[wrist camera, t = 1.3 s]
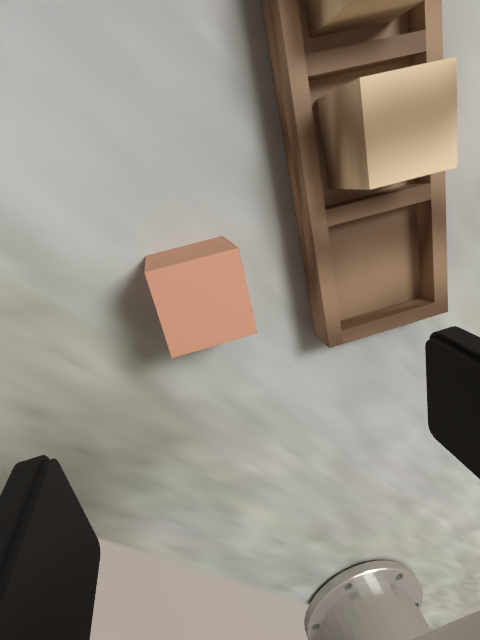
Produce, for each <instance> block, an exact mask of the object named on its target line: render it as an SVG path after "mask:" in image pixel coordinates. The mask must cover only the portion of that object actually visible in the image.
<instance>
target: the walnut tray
mask: <svg viewBox="0 0 480 640" xmlns="http://www.w3.org/2000/svg"><path fill="white" fill-rule="evenodd" d="M261 2H262V8H263V14H264V20H265V26H266V33H267V39H268V45H269V51H270V57H271V64H272V70H273V76H274V82H275V88H276V95H277V101H278V107H279V113H280V119H281V126H282V132H283V138H284V144H285V150H286V157H287V163H288V169H289V175H290V181H291V188H292V194H293V200H294V206H295V212H296V219H297V225H298V231H299V237H300V243H301V250H302V256H303V262H304V268H305V274H306V281H307V287H308V293H309V299H310V306H311V312H312V318H313V324H314V330H315V335H316V336H317V337H318V338H319V339H320V340H322V341H323V342H324V343H325V344H326V345H327V346H328V347H329V348H331V347H334V346H337V345H341V344H344V343H347V342H350V341H354V340H357V339H360V338H363V337H367V336H370V335H373V334H376V333H380V332H383V331H386V330H390V329H393V328H396V327H399V326H403V325H406V324H409V323H412V322H416V321H419V320H422V319H425V318H429V317H432V316H435V315H438V314H442V313H445V312H448V294H447V244H446V194H445V170H449V169H453V168H457V56H456V57H452V58H447V59H443V44H442V0H261Z"/></svg>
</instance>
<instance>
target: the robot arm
mask: <svg viewBox="0 0 480 640" xmlns="http://www.w3.org/2000/svg"><path fill="white" fill-rule="evenodd" d="M425 350H426V377H427V405H428V426H429V429H430V432H431V434H432V435H433V436H434V438H435V439H436V440H437V441H439V442H440V443H441V444H442V445H443V446H444V447H445V448H446V449H447V450H448V451H450V452H451V453H452V454H453V455H454V456H455V457H456V458H457V459H458V460H459V461H461V462H462V463H463V464H464V465H465V466H466V467H467V468H468V469H469V470H470V471H472V472H473V473H474V474H475V475H476V476H477V477H478V478H479V479H480V337H478V336H476V335H474V334H472V333H469V332H467V331H465V330H463V329H461V328H459V327H456V326H454V327H450V328H446V329H443V330H440V331H437V332H434V333H432V334H431V336H430V339H429V340H428V341H427V342H426V346H425ZM99 561H100V546H99V541H98V539H97V537H96V535H95V533H94V531H93V529H92V527H91V525H90V523H89V521H88V519H87V517H86V515H85V513H84V511H83V509H82V507H81V505H80V503H79V501H78V499H77V497H76V495H75V493H74V491H73V489H72V487H71V486H70V484H69V482H68V480H67V478H66V476H65V474H64V472H63V470H62V468H61V466H60V464H59V462H58V461H57V460H56V459H50V460H49V458H48V457H47V456H45V455H42V456H38V457H35V458H32V459H29V460H26V461H22V462H19V463H17V464H16V465H15V466H14V468H13V470H12V472H11V474H10V476H9V479H8V481H7V483H6V485H5V487H4V489H3V491H2V493H1V496H0V640H89V638H90V632H91V624H92V616H93V608H94V600H95V593H96V585H97V577H98V569H99ZM422 596H423V592H422V587H421V584H420V582H419V581H418V579H417V578H416V576H415V575H414V573H413V572H412V571H411V569H409V568H408V567H407V566H405V565H403V564H401V563H398V562H394V561H388V560H378V561H371V562H366V563H362V564H359V565H356V566H354V567H352V568H349V569H347V570H345V571H343V572H342V573H340V574H339V575H337V576H335V577H334V578H332V579H331V580H330V581H329V582H328V583H326V584H325V585H324V586H323V587H322V588H321V589H320V591H319V592H318V593H317V594H316V595H315V597H314V598H313V600H312V601H311V603H310V605H309V607H308V610H307V612H306V617H305V630H306V633H307V636H308V640H480V611H477V612H475V613H473V614H470V615H468V616H465V617H463V618H461V619H458V620H456V621H454V622H451V623H449V624H446V625H444V626H442V627H439V628H437V629H434V630H431V628H430V627H429V625H428V624H427V622H426V620H425V619H424V617H423V616H422V614H421V613H420V611H419V609H420V606H421V603H422Z"/></svg>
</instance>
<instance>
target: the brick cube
mask: <svg viewBox="0 0 480 640" xmlns="http://www.w3.org/2000/svg"><path fill="white" fill-rule="evenodd" d="M144 273H145V276H146V279H147V282H148V285H149V289H150V292H151V295H152V298H153V301H154V304H155V307H156V310H157V313H158V317H159V320H160V323H161V326H162V329H163V332H164V335H165V338H166V341H167V345H168V348H169V351H170V354H171V357H172V358H174V357H178V356H181V355H185V354H188V353H191V352H195V351H198V350H202V349H205V348H208V347H212V346H215V345H219V344H222V343H225V342H229V341H232V340H236V339H239V338H242V337H246V336H249V335H252V334H256V333H257V329H256V325H255V320H254V316H253V311H252V307H251V302H250V298H249V293H248V289H247V284H246V280H245V275H244V271H243V266H242V262H241V257H240V253H239V248H238V247H237V246H235V245H234V244H233V243H231V242H230V241H229V240H227V239H226V238H225V237H223V236H221V237H217V238H213V239H209V240H205V241H201V242H198V243H194V244H190V245H186V246H182V247H178V248H174V249H171V250H167V251H163V252H159V253H155V254H151V255H148V256H146V258H145V271H144Z"/></svg>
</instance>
